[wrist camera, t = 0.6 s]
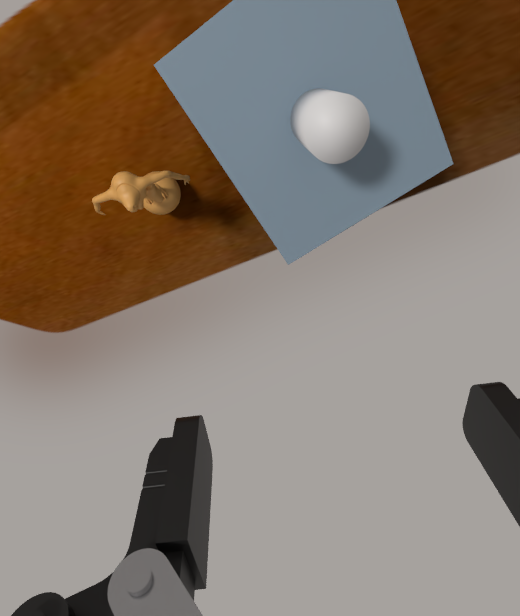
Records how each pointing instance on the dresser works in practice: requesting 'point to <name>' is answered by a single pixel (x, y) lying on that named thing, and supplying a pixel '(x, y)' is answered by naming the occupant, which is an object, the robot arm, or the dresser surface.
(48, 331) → the dresser surface
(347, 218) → the block with white knob
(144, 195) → the figurine
